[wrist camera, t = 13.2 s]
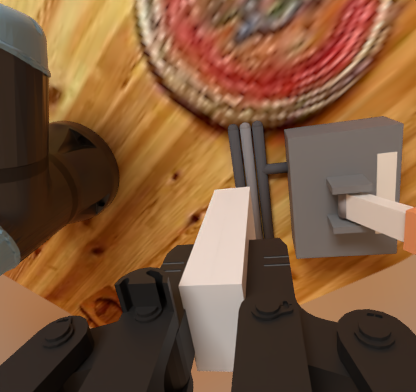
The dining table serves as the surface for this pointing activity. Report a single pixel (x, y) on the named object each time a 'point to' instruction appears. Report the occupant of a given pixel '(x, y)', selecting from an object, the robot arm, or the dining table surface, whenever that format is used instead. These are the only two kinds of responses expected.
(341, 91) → the dining table surface
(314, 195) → the switch block
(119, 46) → the dining table surface
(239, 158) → the cable bundle
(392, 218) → the toggle lever
